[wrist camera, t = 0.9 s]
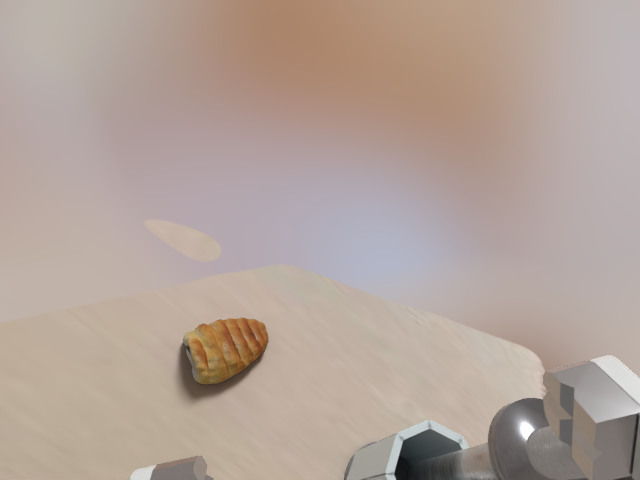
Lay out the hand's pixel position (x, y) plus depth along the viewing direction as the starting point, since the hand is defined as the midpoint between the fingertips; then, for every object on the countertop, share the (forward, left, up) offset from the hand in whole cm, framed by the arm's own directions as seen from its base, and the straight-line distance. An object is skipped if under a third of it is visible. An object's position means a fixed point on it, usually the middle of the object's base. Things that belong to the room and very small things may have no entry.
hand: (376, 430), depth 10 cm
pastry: (-9, +12, -40) cm, 43 cm away
